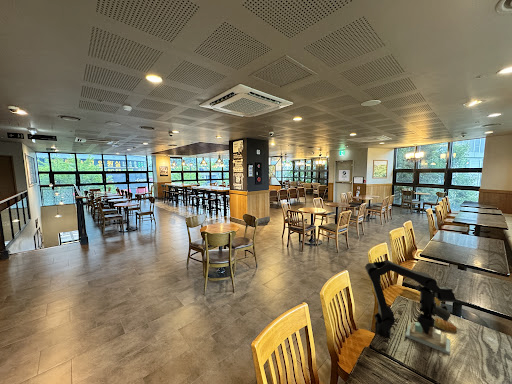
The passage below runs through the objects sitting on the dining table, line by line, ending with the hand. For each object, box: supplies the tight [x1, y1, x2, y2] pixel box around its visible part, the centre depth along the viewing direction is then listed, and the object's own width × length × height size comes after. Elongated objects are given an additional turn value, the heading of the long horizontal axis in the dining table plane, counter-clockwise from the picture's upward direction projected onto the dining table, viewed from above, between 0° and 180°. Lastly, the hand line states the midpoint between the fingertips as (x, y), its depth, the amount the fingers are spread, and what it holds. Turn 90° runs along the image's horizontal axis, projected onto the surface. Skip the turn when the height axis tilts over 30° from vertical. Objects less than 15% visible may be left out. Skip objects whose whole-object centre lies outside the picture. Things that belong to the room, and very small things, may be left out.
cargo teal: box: [414, 321, 422, 333], centre depth 109 cm, size 3×3×3 cm
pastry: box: [434, 317, 458, 333], centre depth 116 cm, size 9×7×4 cm
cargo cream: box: [433, 327, 442, 340], centre depth 104 cm, size 3×3×3 cm
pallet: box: [410, 321, 448, 349], centre depth 106 cm, size 14×7×7 cm, turn 45°
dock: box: [405, 324, 451, 355], centre depth 107 cm, size 17×10×2 cm, turn 45°
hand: (427, 328), depth 106 cm, fingers open, 9 cm apart
